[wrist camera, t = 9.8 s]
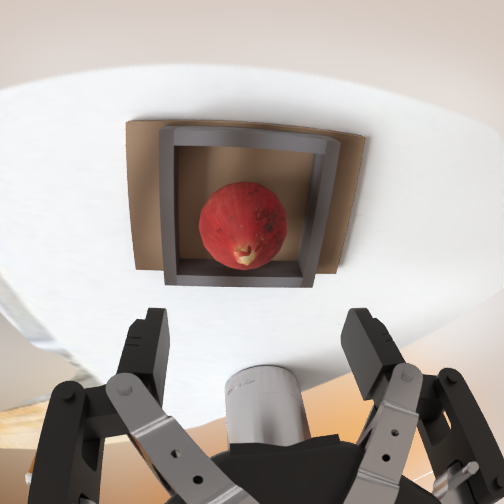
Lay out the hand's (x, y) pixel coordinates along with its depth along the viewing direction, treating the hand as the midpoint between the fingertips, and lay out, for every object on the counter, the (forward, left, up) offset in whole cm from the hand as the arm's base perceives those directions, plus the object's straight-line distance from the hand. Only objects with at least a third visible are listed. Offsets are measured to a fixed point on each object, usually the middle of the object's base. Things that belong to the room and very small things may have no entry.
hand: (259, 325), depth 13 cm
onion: (0, 0, -13) cm, 13 cm away
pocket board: (0, 0, -14) cm, 14 cm away
